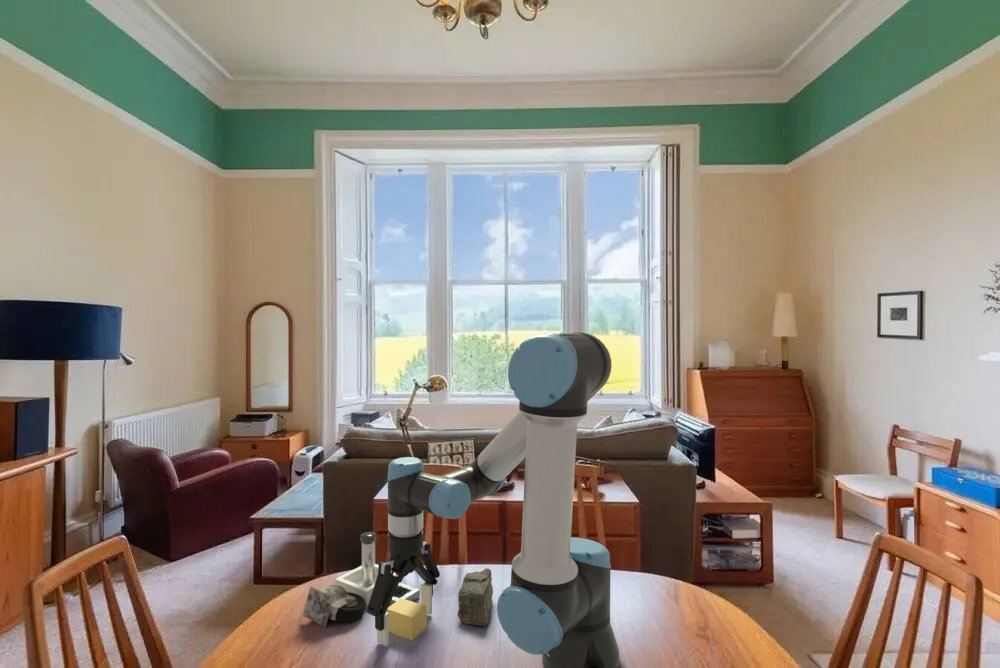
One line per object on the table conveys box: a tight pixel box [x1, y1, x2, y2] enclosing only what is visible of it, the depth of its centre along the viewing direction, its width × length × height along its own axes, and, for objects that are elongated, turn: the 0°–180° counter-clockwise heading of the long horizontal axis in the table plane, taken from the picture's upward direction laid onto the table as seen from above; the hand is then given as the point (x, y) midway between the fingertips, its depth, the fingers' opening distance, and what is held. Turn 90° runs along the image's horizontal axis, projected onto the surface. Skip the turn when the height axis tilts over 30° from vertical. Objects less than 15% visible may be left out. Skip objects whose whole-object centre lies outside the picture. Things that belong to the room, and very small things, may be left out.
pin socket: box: [389, 582, 421, 607], centre depth 127 cm, size 7×7×2 cm
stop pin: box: [360, 531, 377, 588], centre depth 131 cm, size 4×4×13 cm
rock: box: [457, 567, 494, 626], centre depth 122 cm, size 17×7×10 cm
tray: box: [334, 563, 398, 607], centre depth 132 cm, size 11×11×4 cm
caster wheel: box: [302, 584, 367, 629], centre depth 120 cm, size 7×11×10 cm
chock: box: [386, 597, 428, 641], centre depth 114 cm, size 7×5×5 cm
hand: (405, 627), depth 115 cm, fingers open, 13 cm apart
